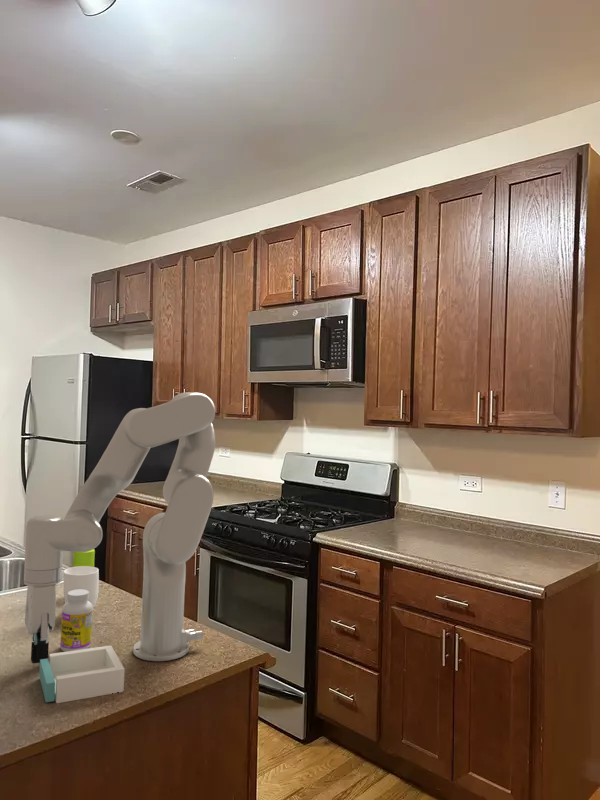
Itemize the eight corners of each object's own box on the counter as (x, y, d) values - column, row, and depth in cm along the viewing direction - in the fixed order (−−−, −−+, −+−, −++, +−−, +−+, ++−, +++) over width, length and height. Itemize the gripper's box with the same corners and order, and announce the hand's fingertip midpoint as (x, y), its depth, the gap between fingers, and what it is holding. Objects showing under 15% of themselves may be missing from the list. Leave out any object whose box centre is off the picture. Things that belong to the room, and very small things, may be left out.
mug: (99, 618, 164) (99, 573, 164) (62, 622, 161) (63, 575, 161) (97, 604, 175) (97, 561, 175) (63, 607, 172) (63, 564, 172)
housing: (110, 666, 136) (111, 645, 136) (123, 691, 124) (124, 668, 124) (48, 675, 130) (49, 653, 130) (56, 703, 119) (57, 679, 119)
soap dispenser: (87, 590, 188) (90, 523, 188) (96, 596, 183) (99, 527, 183) (67, 593, 185) (70, 525, 185) (75, 599, 179) (79, 529, 179)
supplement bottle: (53, 651, 143) (56, 594, 143) (71, 641, 149) (73, 586, 149) (80, 655, 141) (82, 598, 141) (96, 644, 147) (98, 589, 147)
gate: (47, 675, 129) (47, 658, 130) (54, 700, 119) (55, 682, 119) (39, 676, 129) (40, 659, 129) (45, 702, 118) (46, 683, 118)
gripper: (20, 567, 139) (16, 651, 139) (28, 586, 126) (24, 678, 126) (56, 564, 143) (52, 646, 142) (67, 582, 130) (63, 671, 129)
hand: (39, 660), depth 134 cm, fingers closed
